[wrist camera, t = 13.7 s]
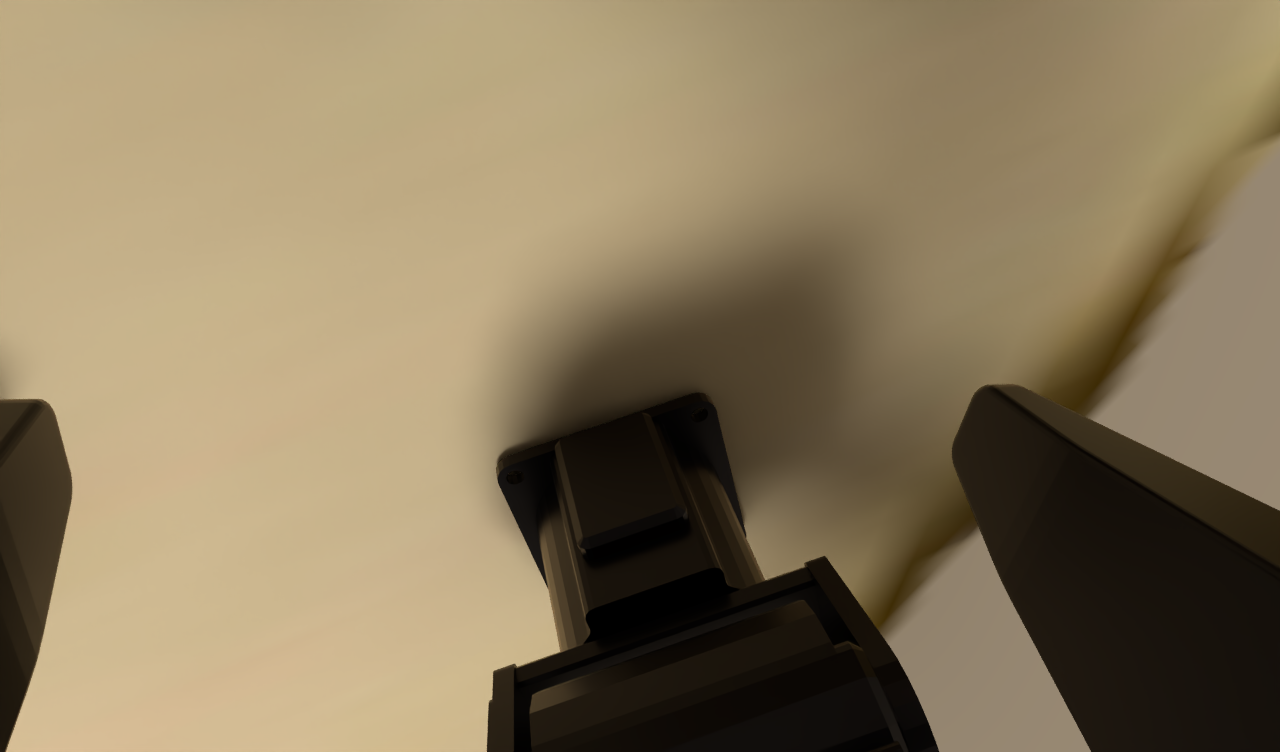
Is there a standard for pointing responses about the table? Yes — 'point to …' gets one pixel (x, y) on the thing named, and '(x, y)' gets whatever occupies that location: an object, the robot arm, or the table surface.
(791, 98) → the table surface
